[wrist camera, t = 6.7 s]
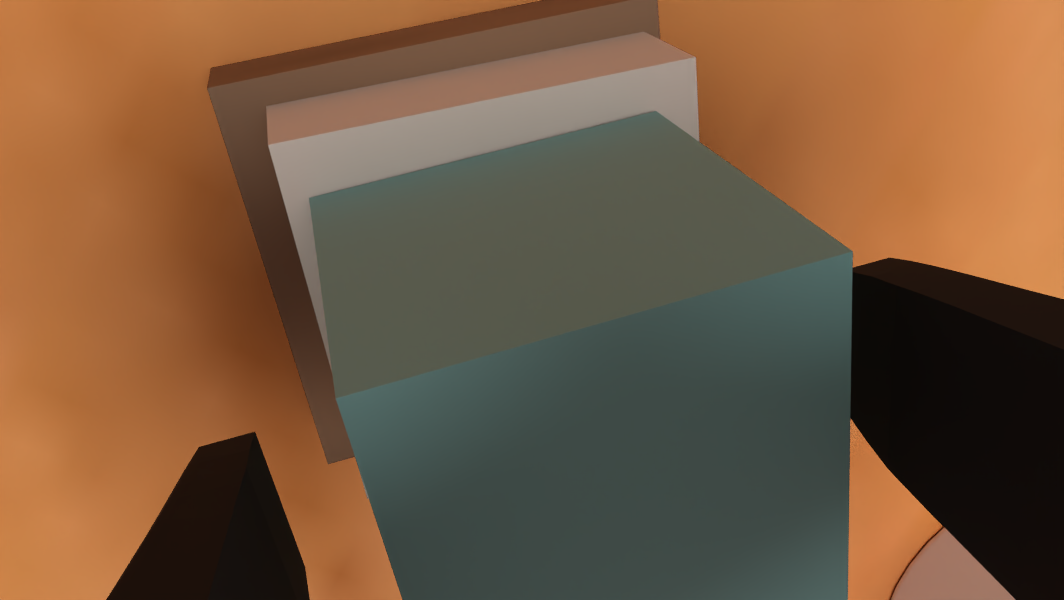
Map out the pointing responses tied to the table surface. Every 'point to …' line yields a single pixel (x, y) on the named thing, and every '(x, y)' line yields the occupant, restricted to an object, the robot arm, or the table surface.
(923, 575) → the pill bottle
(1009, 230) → the table surface
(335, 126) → the top tile
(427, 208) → the cube
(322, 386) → the bottom tile
